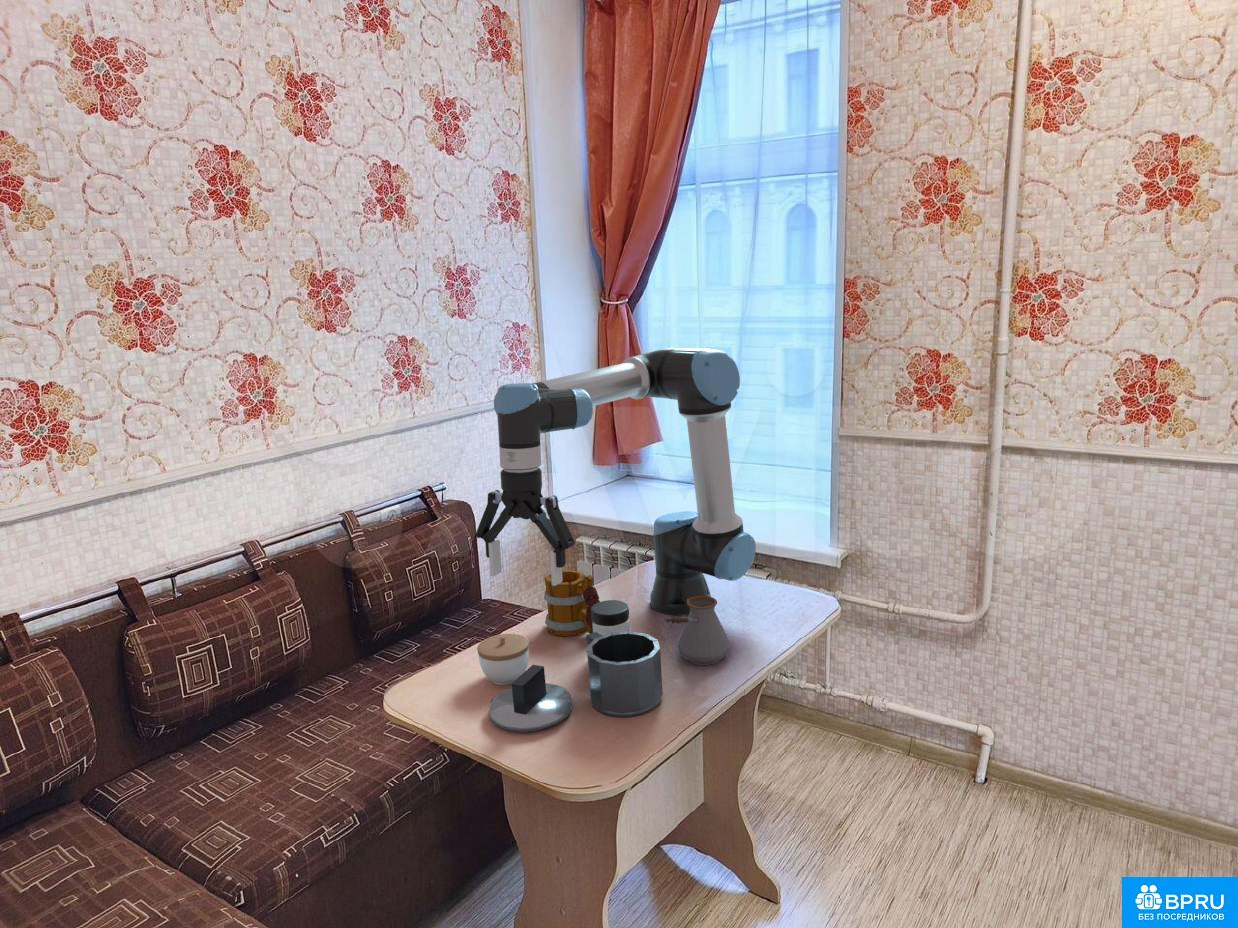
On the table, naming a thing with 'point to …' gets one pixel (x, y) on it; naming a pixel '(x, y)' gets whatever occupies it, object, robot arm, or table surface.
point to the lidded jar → (504, 657)
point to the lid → (530, 703)
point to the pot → (624, 673)
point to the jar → (610, 617)
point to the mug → (570, 604)
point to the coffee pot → (701, 633)
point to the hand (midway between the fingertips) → (526, 578)
